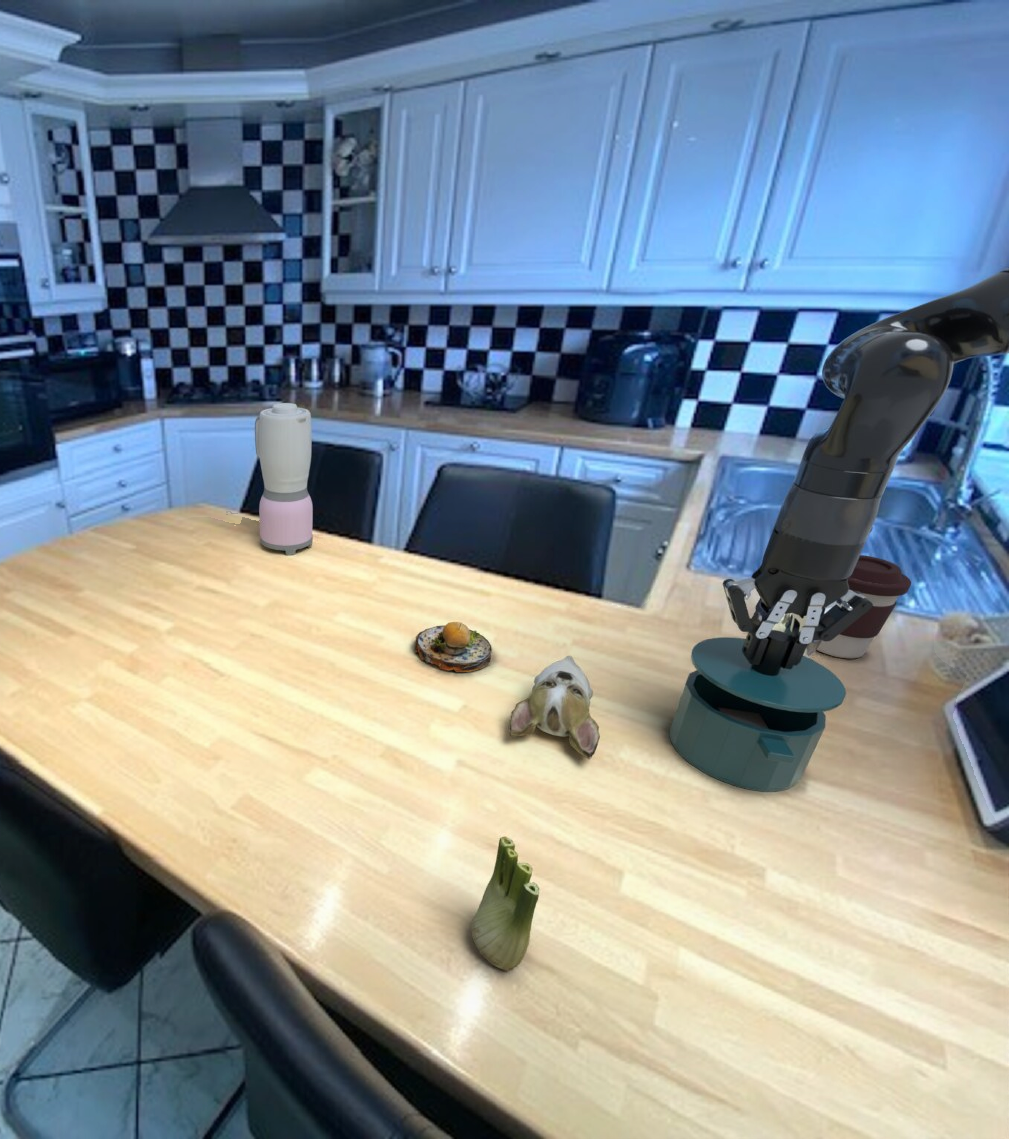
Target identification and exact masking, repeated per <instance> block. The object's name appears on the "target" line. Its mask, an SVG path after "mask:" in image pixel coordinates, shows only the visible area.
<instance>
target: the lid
mask: <svg viewBox="0 0 1009 1139" xmlns="http://www.w3.org/2000/svg"><path fill="white" fill-rule="evenodd" d="M745 639H746V638H742V637H730V636H729V637H728V636H726V637H725V636H724V637H711V638H707V639H704V640H702V641H700V642H698V643H696V644H695V645H694V646H693V648H692V650H691V653H690V661H691V664H692V666H693V667H694V669H696V670H698V672H699V673H700V674H701V675H703V676H704V677H705V678H706V679H707V680H709V681H710V682H712V683H713V684H715V685H716V686H718V687H720V688H722V689H723V690H725V691H727V692H729V693H731V694H734V695H736V696H738V697H741V698H743V699H746V700H748V701H751V702H754V703H757V704H761V705H764V706H768V707H772V708H776V709H781V710H787V711H794V712H807V713H811V712H824V713H825V712H828V711H832V710H834V709H836V708H838V707H840V706H841V705H842V703H843V702H844V701H845V699H846V695H847V690H846V688H845V685H844V682H842V680H841V679H840V678H838V676H837V675H836V674H834V672H832V671H831V670H830V669H828V668H827V667H825V666H824V665H823V664H821V663H819V662H817V661H816V660H813V659H812V658H811V657H810V658H808V657H806V656H803V657H802V659H801V661H800V663H799V664H798V665H797V666H796V665H793V668H792V669H784V668H782V664H783V662H784V659H785V657H786V654H787V652H788V650H789V647H790V645H791V642H792V640H793V639H792V637H791V636H790V635H788V634H786V633H784V632H781V631H777V630H771V632H770V634H769V635H768V637H767V639H768V643H767V646H766V648H765V651H764V653H763V656H762V658H761V661H760V663H759V665H753V664H750V663H749V661H748V660H747V659H746V657H745V656H744V654H743V652H742V648H743V645H744V642H745Z"/></svg>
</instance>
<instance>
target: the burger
mask: <svg viewBox="0 0 1009 1139" xmlns="http://www.w3.org/2000/svg"><path fill="white" fill-rule="evenodd" d="M492 650H493V648H492V644H491V643H490V642H489V639H488V638H486V637H485V636H484V635H483V634H480V633H479V632H478V631H477V630H471V629H469V627H468V626H467V625H466V624H465V623H463V622H461V621H451V622H448V623H446V624H445V625H436V626H432V627H429V628H425V629H423V630H422V631H420V632H419V633H417V635H416V637H415V645H414V651H415V653H416V654H418V655H419V658H420V659H421V661H424V662H425V663H430V664H432V665H435V666H437V667H438V668H439V669H440V670H444V671H449V672H450V671H452V670H454V671H455V673H468V672H476V671H478V670H481V669H484V668H485V667H487V666H488V664H489V663H491V660H492Z"/></svg>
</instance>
